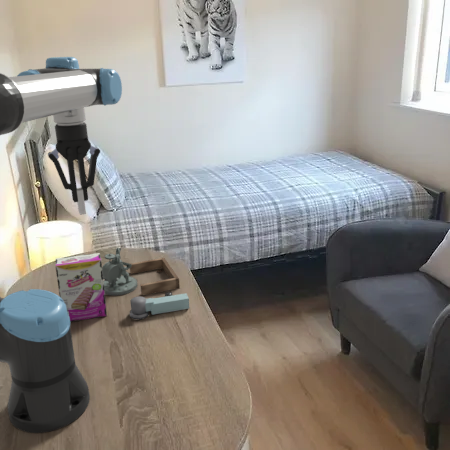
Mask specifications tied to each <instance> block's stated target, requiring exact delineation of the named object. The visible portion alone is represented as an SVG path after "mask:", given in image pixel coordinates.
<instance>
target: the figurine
mask: <svg viewBox="0 0 450 450" xmlns="http://www.w3.org/2000/svg"><path fill="white" fill-rule="evenodd" d="M121 250H122V248H120V247H116V249H115V254H113V253H107V254H105V255H104V259H105V260H108V261H107V262H105V263H104V264H103V265H102V273H103V282H104V292H105V295H107V296H115V297H116V296H123V295H127V294H129V293H133V292H134V291H135V290H137V288H138V280H137V279H136V278H135V277H133V276H130V274H129V272H128V270H130V268H131V267H132V264H131V263H129V262H126V261H123V260H122V259H121Z"/></svg>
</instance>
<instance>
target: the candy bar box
mask: <svg viewBox="0 0 450 450" xmlns="http://www.w3.org/2000/svg"><path fill="white" fill-rule="evenodd" d="M102 267H103V265H102V256H101V253H100V252H97V253H96V252H95V253H89V254H82V255H75V256H74V255H73V256H72V255H71V256H65V257H55V273H56V279H57V280H56V281H57V286H58V287H57V288H58V293H59V294H58V296H59V297H61V298H62V299H63V301H64V303H65V304H66V308H67V312H68V315H69V318H70V323H72V322H79V321H83V320H89V319H90V320H91V319H96V318H102V317H107V316H108V312H107V303H106V301H107V300H106V294H105V292H104V282H103V281H104V279H103V273H102Z"/></svg>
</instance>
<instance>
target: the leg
mask: <svg viewBox="0 0 450 450" xmlns="http://www.w3.org/2000/svg"><path fill="white" fill-rule="evenodd" d="M188 309H190V298H189V296H188V293H178V294H174V295H173V294H172V296H166V297H165V296H162V297H154V298H153V297H150V298H146V297H145V296H134V297H132V298H131V299H130V310H131V312H132V313H133V314H143V313H145V312H147V311H149V312H150V313H151V315H158V314H164V313H169V312H170V313H171V312H176V311H182V310H188Z"/></svg>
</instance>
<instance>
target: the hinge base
mask: <svg viewBox="0 0 450 450" xmlns="http://www.w3.org/2000/svg"><path fill="white" fill-rule="evenodd" d="M172 295H173V292H171V291H165V293H164V297H166V296H172ZM149 316H150V311H147V312H145V313H143V314H133V313H132V312H131V309H130V310H129V317H130V319H132V320H136V321H140V320H144V319H147V318H148V317H149Z"/></svg>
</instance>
